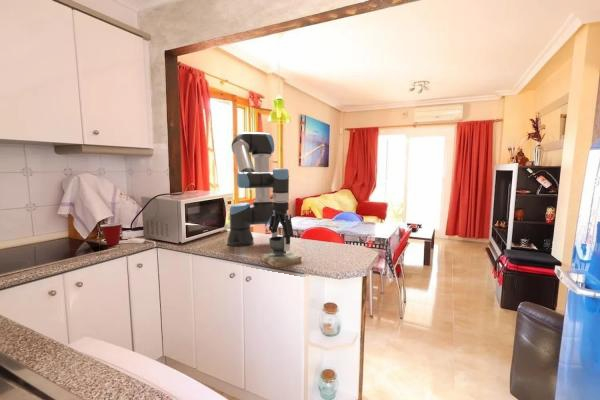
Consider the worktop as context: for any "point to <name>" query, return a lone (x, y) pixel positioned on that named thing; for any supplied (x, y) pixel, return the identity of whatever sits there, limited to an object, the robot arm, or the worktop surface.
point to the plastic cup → (112, 233)
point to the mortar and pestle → (277, 245)
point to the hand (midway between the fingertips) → (280, 248)
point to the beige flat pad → (280, 259)
